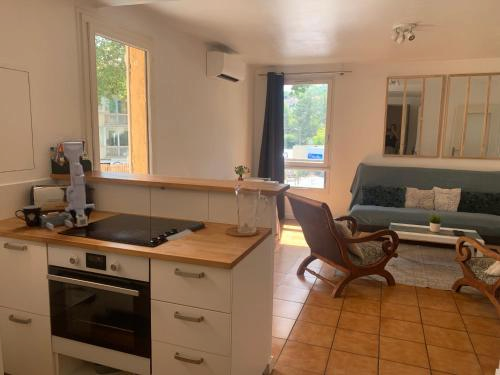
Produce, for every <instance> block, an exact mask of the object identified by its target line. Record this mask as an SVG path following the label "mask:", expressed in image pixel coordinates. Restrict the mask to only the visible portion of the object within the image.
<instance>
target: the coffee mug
mask: <svg viewBox="0 0 500 375" xmlns="http://www.w3.org/2000/svg"><path fill="white" fill-rule="evenodd" d="M18 212H22V213H23V216H24V218H22V217H20V216H19V215H17V214H18ZM14 215H15V217H17V218H18V219H20V220H22V221H24V222H25V224H26V227H27V226H29V228H33V226H35V227H40V226H39V216H42V206H41V205H28V206H27V205H26V206H23V207H22V209H19V210H16V211H15V213H14Z"/></svg>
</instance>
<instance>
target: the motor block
mask: <svg viewBox="0 0 500 375" xmlns="http://www.w3.org/2000/svg"><path fill="white" fill-rule="evenodd" d="M64 220H68V221H70V222H71V218H70V214H69V212H66V211H64V212H59V211H55V212H48V213H47V214H41V216H39V226H38V227H40V226H41V229H43V228H47V227H46V222H49V223H50V224H52V225H53V226H54V227H56V226H61V225H65V221H64Z"/></svg>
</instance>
